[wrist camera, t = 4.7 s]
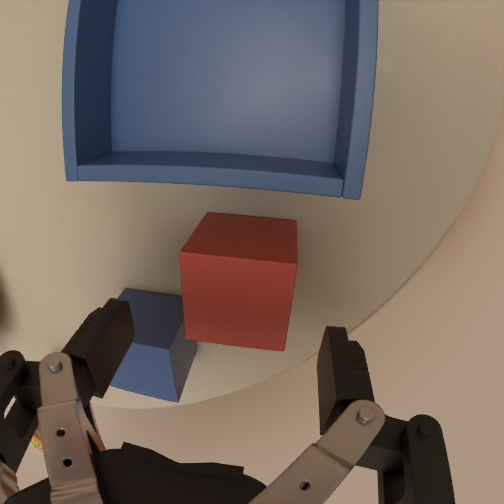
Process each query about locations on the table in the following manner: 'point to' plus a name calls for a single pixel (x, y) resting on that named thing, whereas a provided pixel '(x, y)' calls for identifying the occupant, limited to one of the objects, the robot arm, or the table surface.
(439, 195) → the table surface
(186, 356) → the blue block
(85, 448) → the robot arm
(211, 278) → the red block
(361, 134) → the blue bin
